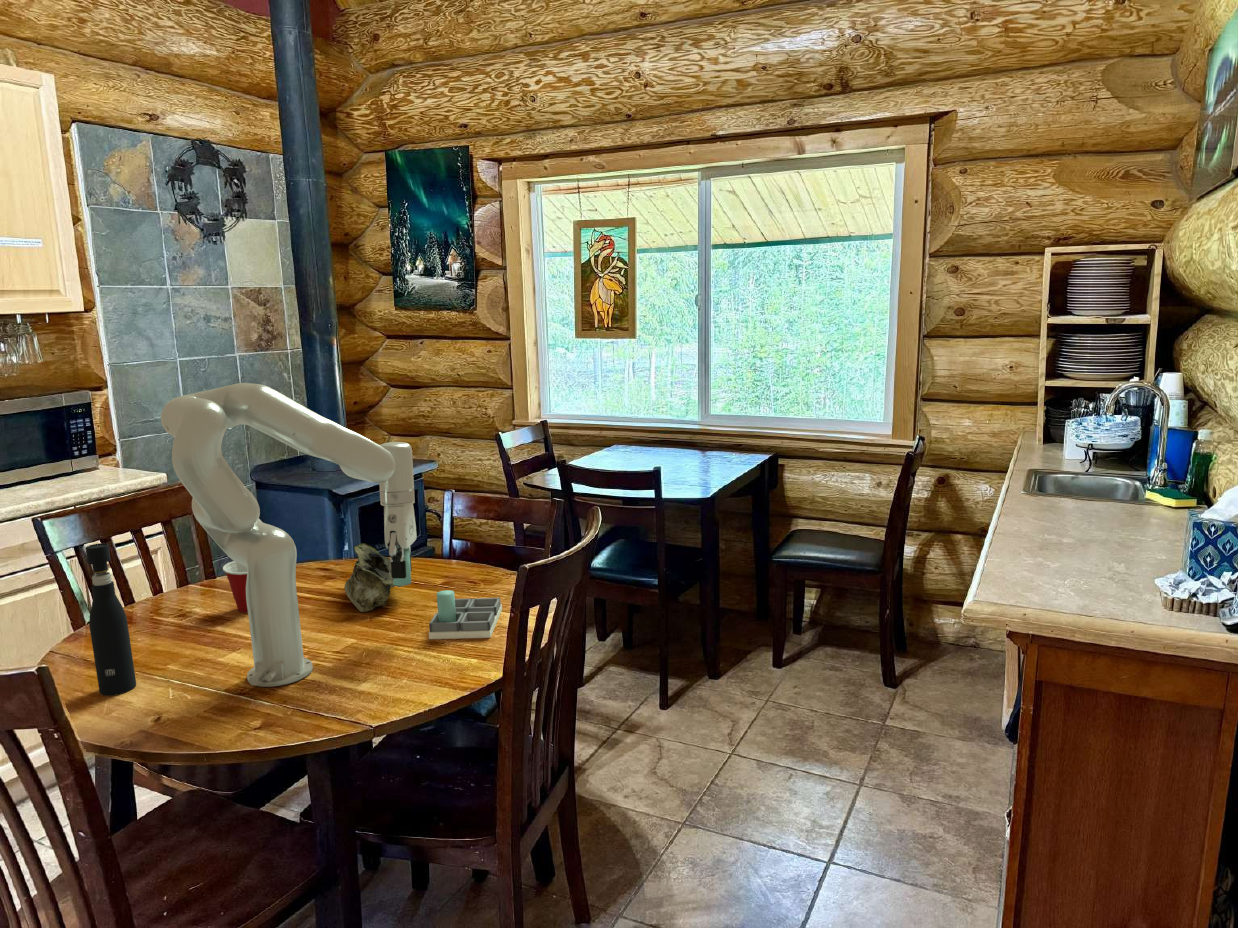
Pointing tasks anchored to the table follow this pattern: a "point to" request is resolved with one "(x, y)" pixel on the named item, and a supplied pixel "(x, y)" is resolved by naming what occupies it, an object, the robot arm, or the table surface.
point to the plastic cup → (237, 583)
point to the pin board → (464, 617)
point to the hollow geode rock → (369, 579)
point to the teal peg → (408, 571)
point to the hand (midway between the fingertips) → (401, 574)
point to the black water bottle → (109, 628)
